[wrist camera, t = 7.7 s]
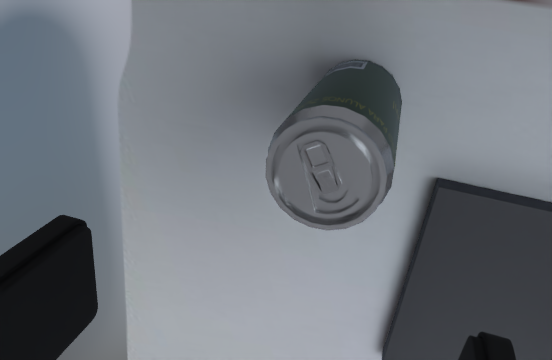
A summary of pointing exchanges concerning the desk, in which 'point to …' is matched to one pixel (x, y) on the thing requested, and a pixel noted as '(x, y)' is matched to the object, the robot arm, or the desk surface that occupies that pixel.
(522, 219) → the scale
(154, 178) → the desk surface
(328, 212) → the beer can
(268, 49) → the desk surface
